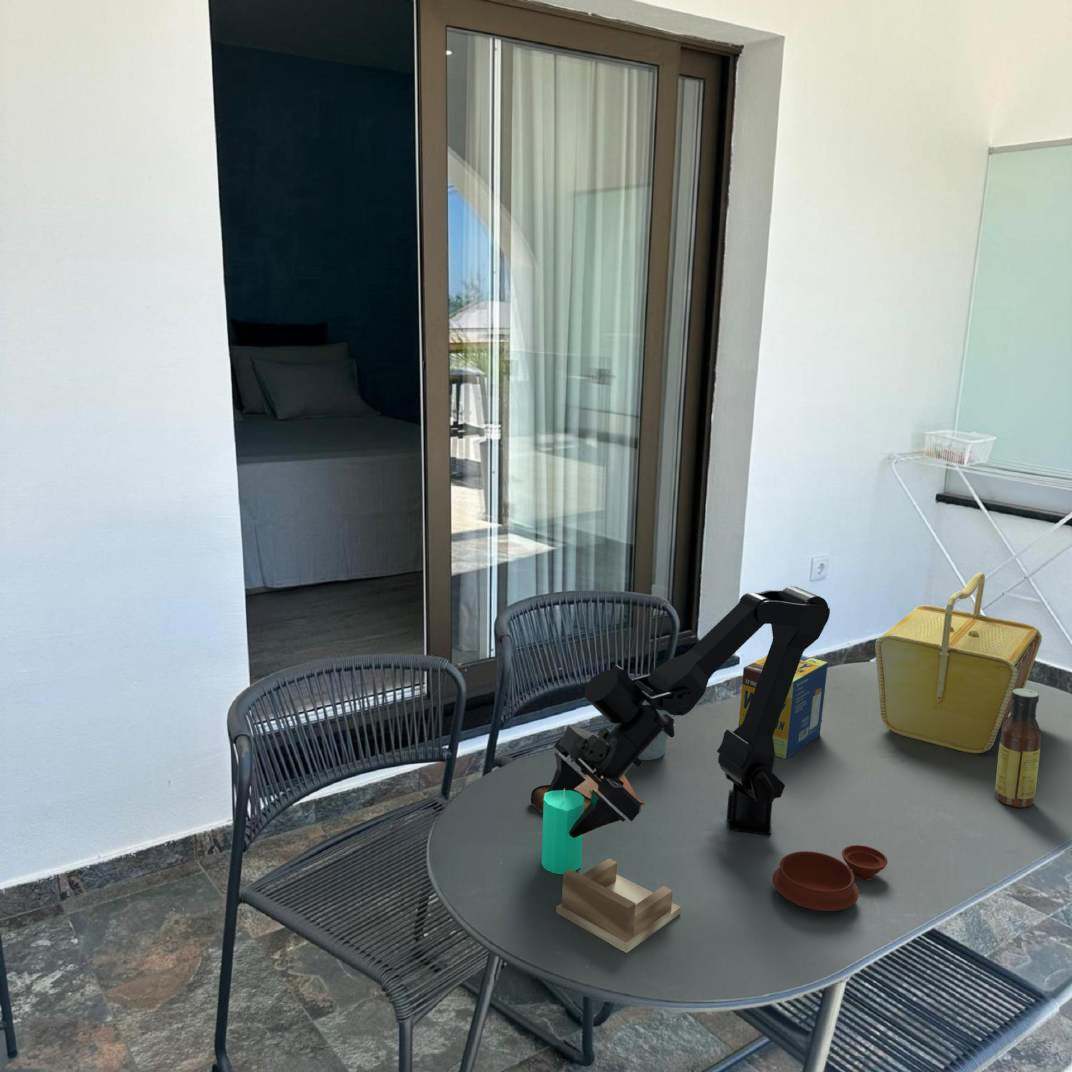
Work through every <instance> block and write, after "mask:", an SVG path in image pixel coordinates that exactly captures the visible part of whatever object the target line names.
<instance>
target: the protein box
mask: <svg viewBox="0 0 1072 1072" xmlns="http://www.w3.org/2000/svg"><path fill="white" fill-rule="evenodd" d="M766 658H767V655H765V656H764V657H762V658H760V659H758V660H756V661H754V662H752V663H750V664H749V665H747V666H744V667H743V669H742V670H743V671H742V683H741V691H740V692H741V695H740V704H739V717H738V718H739V719H738V727H739V726H740V725H741V724H742V723H743V721H744V719H745V716H746V713H747V710H748V708H749V705H750V702H751V699H752V696H753V694H754V691H755V688H756V685H757V683H758V680H759V677H760V674H761V672H762V669H763V666H764V663H765V661H766ZM828 665H829V663H828V662H827V661H825V660H824V661H823V660H820V659H818V658H813V657H809V656H806V655H804V654H802V657H801V660H800V662H799V665H798V668H797V671H796V673H795V676H794V679H793V682H792V684H791V687H790V690H789V692H788V695H787V698H786V701H785V703H784V706H783V709H782V712H781V714H780V717H779V720H778V723H777V725H776V728H775V731H774V734H773V741H774V749H775V757H779V758H781V759H784V760H786V759H787V758H789V757H791V756H792V755H793V754H795V753H796V752H797V751H799V750H800V749H802V748H803V747H805V746H806V745H808V744H809V743H810V742H812V741H813V740H815V739H817V737H820V735H821V728H822V727H821V726H822V719H823V718H822V717H823V710H824V701H825V692H826V681H827V674H828Z"/></svg>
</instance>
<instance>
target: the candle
mask: <svg viewBox="0 0 1072 1072" xmlns="http://www.w3.org/2000/svg"><path fill="white" fill-rule="evenodd" d="M583 812H584V797H583V796H582V795H581V794H580V793H577V792H574V791H571V790H565V789H564V790H558V791H550V792H547V793H545V795H544V805H543V814H542V837H541V838H542V839H541V863H540V864H541V866H542V867H543V868H544V870H545V871H548V872H550V871H551V872H550V873H552V874H555V873H556V874H557V875H563V873H564V872H566V871H568V870H569V869H572V870H573V871H576V870H577V871H579V868H580V869H581V866H582V858H583V857H582V856H583V855H582V854H583V852H582V851H583V835H584V834H582V835H580V836H578V837H575V838H573V837H571V836H570V835H569V831H570V830H571V828H572V827H573V825H574V824H575V822H576V821H577V820H578V819H579V817H580V816H581V815H582V813H583ZM577 871H576V872H577ZM556 874H555V875H556Z"/></svg>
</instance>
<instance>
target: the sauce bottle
mask: <svg viewBox="0 0 1072 1072" xmlns="http://www.w3.org/2000/svg"><path fill="white" fill-rule="evenodd" d="M1039 696H1040V694H1039V693H1038V692H1037V691H1035V690H1033V689H1029V688H1024V689H1023V688H1020V689H1014V690H1013V691H1012V709H1011V712H1010V713H1009V715H1008V717H1007V718H1006V720H1005V721H1004V723H1003V724H1002V726H1001V733H1000V739H999V746H998V755H997V765H996V775H995V777H996V778H995V786H994V789H995V792H994V793H995V797H996V799H997V800H998V801H999V802H1001V803H1002V804H1005V805H1008V806H1011V807H1014V808H1029V807H1032V806H1033V803H1034V801H1035V800H1034V799H1035V796H1036V791H1037V780H1038V773H1039V764H1040V757H1041V756H1040V755H1041V738H1042V731H1041V729H1040V726H1039V724H1038V721H1037V719H1036V717H1037V715H1036V714H1037V713H1036V711H1037V707H1038V705H1037V704H1038V703H1039V699H1040V697H1039Z"/></svg>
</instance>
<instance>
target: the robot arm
mask: <svg viewBox="0 0 1072 1072" xmlns="http://www.w3.org/2000/svg"><path fill="white" fill-rule="evenodd" d="M830 613H831V609H830V607H829V604H828V602H827V601H826V599H825V598H823V597H822V596H819V595H817V594H814V593H813V592H809V591H807V590H805V589H803V588H800V587H798V586H792V585H791V586H787V587H785V588H784V589H782V590H770V589H769V590H764V591H760V592H752V591H751V592H748V593H744V594H743V595H742V596H741V597H740V599H739V601H738V603H737V604H736V606H734V607H733V608H732V609H731V610H730V611H729V612H728V613H727V614H726V615H725V616H723V618H722V619H721V620H719V622H717V624H715V625H714V626H713V628H711V629H710V630H709V631H708V632H707V633H706V634H705V635H704V636H703V637H702V638H701V639H700V640H699V641H698V642H697V643H696V644H694V645H693V646H692V647H691V648H690V649H689V650H687V651H686V652H685V653H684V654H681V655H678V656H675V657H672V658H670V659H668V660H666V661H665V662H663V663H661V665H659V666H658V667H656V668H655V669H654V670H652V671H651V672H650V673H647V674H645V675H641V676H637V677H633V678H630V676H629V674H628V672H627V671H626V670H625V669H624V668H623V667H620V666H619V665H618V664H615V665H614V666H613V667H612V668H611V669H607V670H603V671H602V672H599V673H598V674H596V675H594V676H592V677H591V678H590V680H589V681H588V683H587V684H586V686H585V689H584V697H585V700H586V701H587V702H589V704H590V705H592V706H593V708H595V709H596V710H597V711H598V712H599V713H600V714H601V716H603V717H604V718H605V719H606V720H607V722H609V723H611V724H614V726H612V727H611V729H610V730H609V729H607V728H605V727H604V728H601V729H600V730H599V731H598V733H593V732H591V731H589V730H586V729H583V728H580V727H578V726H576V725H575V726H574V725H572V724H568V725H567V726H566V730H565V731H564V733H563V735H562V736H561V737H560V738H559V739H558V740H557V741H556V743H554V745H553V747H554V748H555V749H556V750H557V751H558V752H556V751H554V757H555V761H556V762H555V763H556V770H555V772H554V776H553V778H552V779H551V782H550V783H549V784H550V787H549V789H548V791H547V792H550V791H558V790H564V789H565V790H571V791H572V790H573V789H574V788H576V787H577V786H579V785H580V784H581V783H582V782H584V781H585V780H586V779H585V778H584V777H585V776H589V777H590V778H591V779H592V780H593V781H594V782H596V783H597V784H598V791H599V792H600V793H601V794H602V795H601V796H600V795H599V794H598V793H596V792H595V791H594V790H592V795H591V803H590V804H589V806H588V807H587V808H586V810H585V811H584V812H583V813H582V815H581V816H580V817H579V819H578V820H577V821H576V822H575V824H574V825H573V827H572V828H571V830H570V831H569V835H570V836H571V837H573V838H575V837H578V836H580V835H582V834H583V835H585V834H587V833H589V832H592V831H594V830H596V829H599V828H601V827H604V826H607V825H611V824H613V823H616V822H619V821H621V822H622V823H625V821H626V818H627V819H628V820H629V821H630V822H633V821H634V820H635V819H636V817H638V815H639V814H640V813H642V812H641V811H642V804H641V803H640V802H639V801H638V800H637V799H636V798H635V797H634V796H633V795H632V794H630V793H629V792H628V791H627V790H626V789H625V788H624V787H623V784H624V783H623V782H622V781H621V780H620V779H621V777H622V776H623V775H624V776H625V774H626V773H627V772H628V770H630V768H631V767H632V766H633V765H634V766H636V767H637V768H639V767H641V765H642V764H643V760H640V759H639V757H640V756H641V755H642V752H644V751H645V750H646V749H647V748H648V746H649V745H650V744H651V743H652V742H653V741H654V740H655V738H656V737H657V736H658V735H659V734H660V733H661V732H662V731H663V732H664V733H666V734H667V735H668V736H667V737H669V738H674V737H675V728H674V722H675V719H674V718H673V717H672V716H675V717H676V716H682V717H683V716H685V715H687V714H688V713H690V712H691V711H692V710H693V709H694V707H695V706H696V705H697V703H698V702H699V701H700V700H701V699H702V697H703V696H704V695H705V693H706V689H707V688H708V687H707V686H708V683H709V680H710V678H712V676H713V675H714V673H715V672H716V671H718V670H719V669H720V668H722V666H723V665H724V664H725V663H726V662H727V661H728V660H729V659H730V658H731V657H732V656H733V655H734V654H735V653H736V652H737V651H738V650H739V649H741V647H742V646H743V645H744V644H746V643H747V641H749V640H750V639H751V638H752V637H753V635H755V634H756V633H757V632H758V631H759V630H760V629H761V628H762V627H763V626H764V625H769V624H770V626H771V633H772V642H771V645H770V648H769V650H768V652H767V655H766V656H767V658H766V661H765V663H764V666H763V669H762V672H761V674H760V677H759V680H758V683H757V685H756V688H755V691H754V694H753V696H752V699H751V702H750V705H749V708H748V710H747V713H746V716H745V719H744V721H743V723H742V724H741V725H740V726H739V725H738V727H736V728H735V729H734V730H733V731H732V730H730V729H726V730H725V731H724V733H723V737H722V741H721V744H720V746H719V747H718V749H717V750H716V753H718V759H717V763H718V764H719V767H720V769H721V770H722V771H723V772H724V774H725V778H726V779H727V780H728V781H730V782H731V783H733V784H732V789H729V790H728V798H727V799H728V800H727V812H726V820H727V821H729V822H728V828H729V830H732V831H740V832H747V833H753V834H761V835H771V833H772V825H771V824H772V811H773V810H772V809H773V802H774V800H775V799H779V798H781V797H782V795H783V793H784V790H785V786H786V784H785V783H784V782H783V781H782V780H781V779H780V778H778V776H777V775H776V774H775V773H774V772H773V769H774V766H775V765H774V764H775V760H776V755H775V749H774V741H773V734H774V731H775V728H776V725H777V723H778V720H779V717H780V714H781V712H782V709H783V706H784V703H785V701H786V698H787V695H788V692H789V690H790V687H791V684H792V682H793V679H794V676H795V673H796V671H797V668H798V665H799V662H800V660H801V657H802V655H804V652H805V651H806V649H809V647H810V646H811V645H812V644H813V643H815V642H816V641H817V640H818V639H819V638H820V636H821V634H822V632H823V630H824V629H825V627H826V625H827V623H828V622H829V618H830V615H831V614H830ZM644 701H646V702H647V703H649V704H650V705H642V703H643V702H644ZM658 710H664V711H667V712H668V713H669V714H671V717H670V716H669V715H668V714H663V715H662V714H661V713H660V712H659V711H658ZM594 770H595V771H594ZM580 772H581V773H582V774H583V775H584V776H582V774H580ZM601 776H603V779H602V778H601ZM599 779H600V780H601V781H600V780H599ZM543 805H544V800H543ZM624 816H625V817H626V818H625V817H624Z"/></svg>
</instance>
